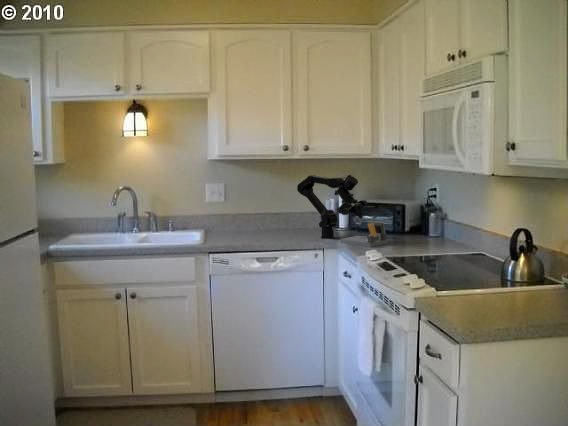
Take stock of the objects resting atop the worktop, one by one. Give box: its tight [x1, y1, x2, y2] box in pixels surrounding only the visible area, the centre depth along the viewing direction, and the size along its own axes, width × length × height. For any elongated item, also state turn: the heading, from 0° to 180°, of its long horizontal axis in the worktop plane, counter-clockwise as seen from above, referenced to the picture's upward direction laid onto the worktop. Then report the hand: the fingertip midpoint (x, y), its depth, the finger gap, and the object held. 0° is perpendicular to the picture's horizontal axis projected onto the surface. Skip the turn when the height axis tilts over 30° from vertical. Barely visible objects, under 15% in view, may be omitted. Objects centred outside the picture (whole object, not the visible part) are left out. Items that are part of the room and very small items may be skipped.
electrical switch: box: [367, 220, 386, 235], centre depth 318 cm, size 9×5×9 cm, turn 57°
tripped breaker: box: [367, 223, 378, 240], centre depth 296 cm, size 2×4×9 cm, turn 134°
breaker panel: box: [340, 232, 389, 248], centre depth 301 cm, size 20×15×6 cm
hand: (361, 218), depth 301 cm, fingers closed
